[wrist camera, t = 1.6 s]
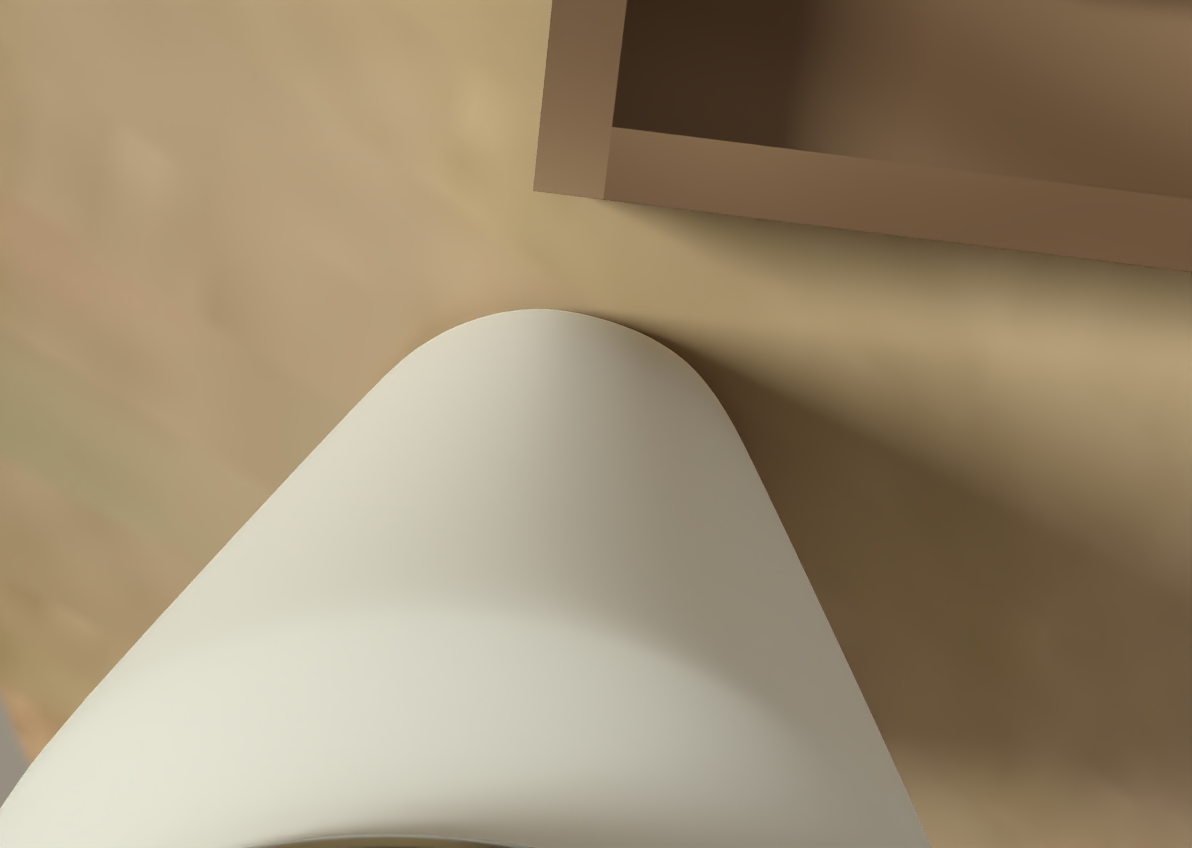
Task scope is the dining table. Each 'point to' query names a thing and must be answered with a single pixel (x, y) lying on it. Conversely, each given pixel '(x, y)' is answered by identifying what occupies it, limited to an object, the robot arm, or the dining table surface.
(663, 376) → the can
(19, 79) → the dining table surface
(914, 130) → the walled box
